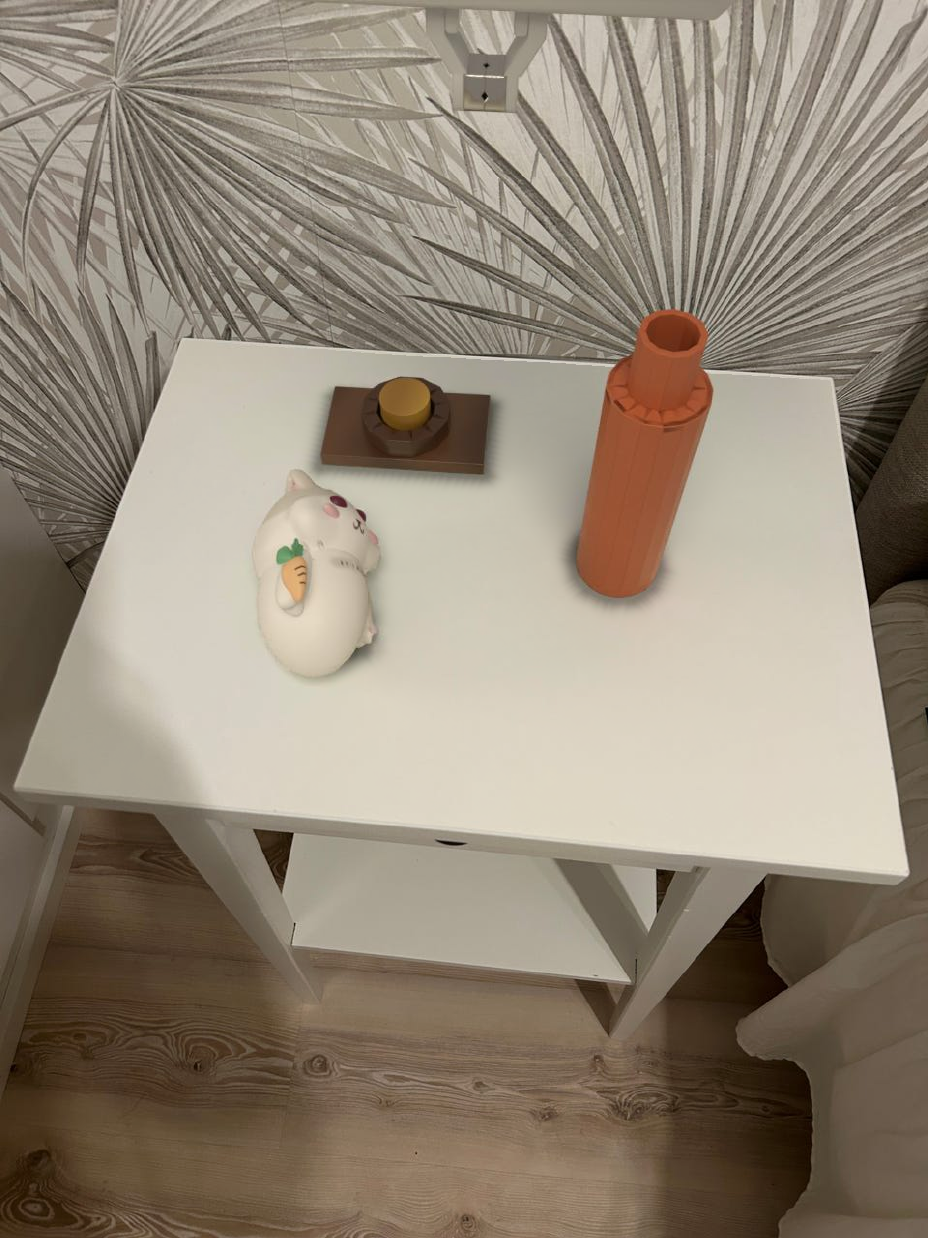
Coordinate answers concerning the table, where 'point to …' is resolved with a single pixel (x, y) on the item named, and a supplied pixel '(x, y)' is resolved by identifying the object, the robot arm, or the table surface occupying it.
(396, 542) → the table surface
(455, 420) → the brown button base
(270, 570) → the cat figurine
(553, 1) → the robot arm
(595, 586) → the orange bottle
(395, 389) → the button
